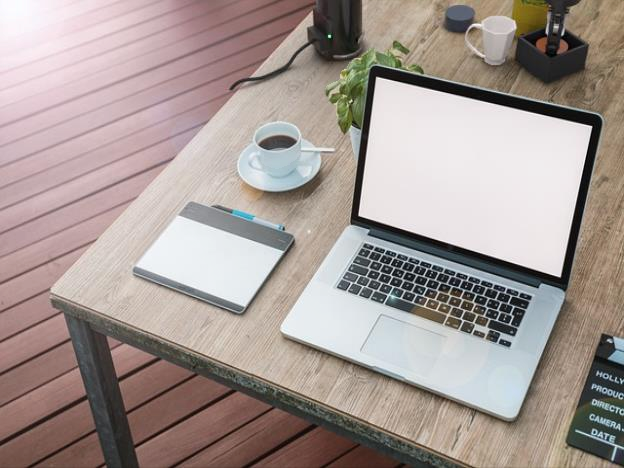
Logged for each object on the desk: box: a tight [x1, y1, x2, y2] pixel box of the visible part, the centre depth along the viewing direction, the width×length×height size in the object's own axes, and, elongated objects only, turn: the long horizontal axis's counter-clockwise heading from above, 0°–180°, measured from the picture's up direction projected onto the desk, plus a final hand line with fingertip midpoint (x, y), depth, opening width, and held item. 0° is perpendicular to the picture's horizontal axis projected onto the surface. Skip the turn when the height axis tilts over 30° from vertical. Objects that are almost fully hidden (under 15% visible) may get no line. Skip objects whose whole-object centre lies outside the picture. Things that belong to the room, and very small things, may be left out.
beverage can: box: [510, 0, 549, 40], centre depth 173 cm, size 9×9×12 cm
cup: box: [464, 15, 517, 66], centre depth 168 cm, size 7×10×8 cm
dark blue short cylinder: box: [444, 4, 476, 33], centre depth 179 cm, size 6×6×3 cm
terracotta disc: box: [536, 37, 568, 55], centre depth 166 cm, size 6×6×3 cm
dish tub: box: [514, 26, 590, 85], centre depth 167 cm, size 10×10×6 cm
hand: (550, 52), depth 166 cm, fingers closed on terracotta disc, 6 cm apart
